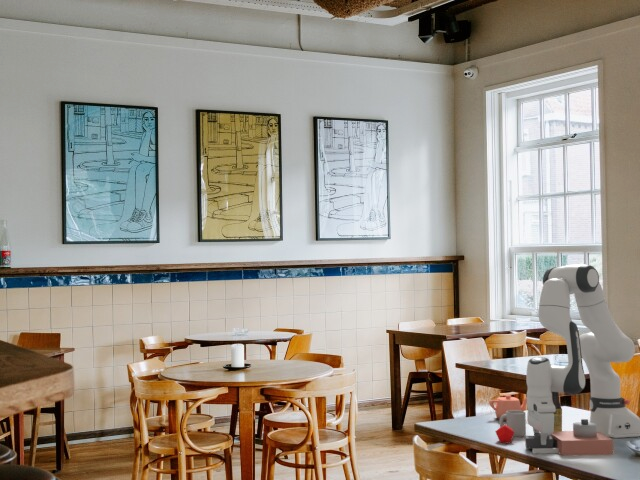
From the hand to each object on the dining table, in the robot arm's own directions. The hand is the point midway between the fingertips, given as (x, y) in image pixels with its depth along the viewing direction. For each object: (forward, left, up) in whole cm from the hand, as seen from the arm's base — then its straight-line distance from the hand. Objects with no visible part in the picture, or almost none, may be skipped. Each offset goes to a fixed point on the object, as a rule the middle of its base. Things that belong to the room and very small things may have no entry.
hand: (540, 442), depth 292 cm
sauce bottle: (-10, -17, -3) cm, 20 cm away
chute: (+1, 0, -2) cm, 2 cm away
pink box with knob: (-10, 0, -3) cm, 10 cm away
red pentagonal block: (+9, -15, -3) cm, 18 cm away
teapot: (-5, -59, -3) cm, 59 cm away
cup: (+3, -27, -3) cm, 27 cm away
